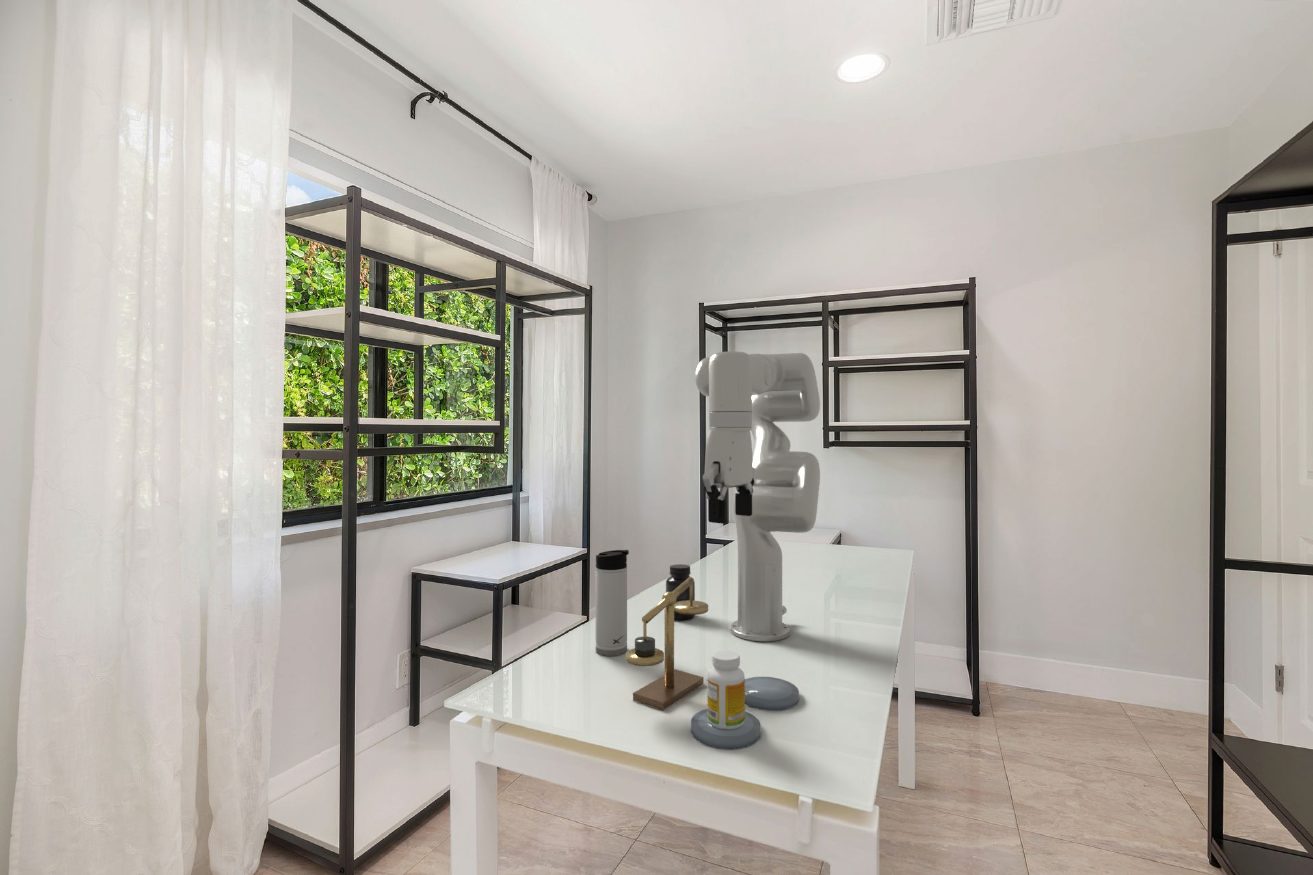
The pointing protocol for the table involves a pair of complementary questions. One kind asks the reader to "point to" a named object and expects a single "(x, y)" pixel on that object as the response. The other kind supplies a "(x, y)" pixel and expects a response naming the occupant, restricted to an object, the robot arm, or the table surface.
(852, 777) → the table surface
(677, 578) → the supplement bottle
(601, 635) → the travel mug
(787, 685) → the dish high side
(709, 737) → the dish low side
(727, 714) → the supplement bottle
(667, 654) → the balance
